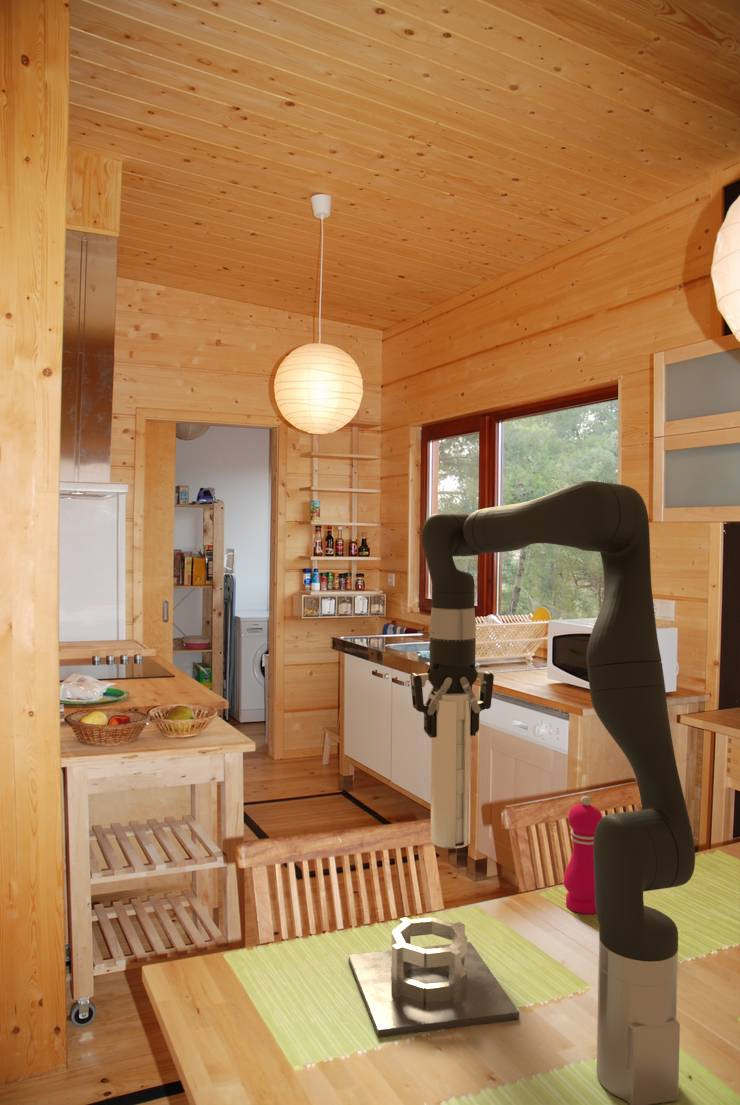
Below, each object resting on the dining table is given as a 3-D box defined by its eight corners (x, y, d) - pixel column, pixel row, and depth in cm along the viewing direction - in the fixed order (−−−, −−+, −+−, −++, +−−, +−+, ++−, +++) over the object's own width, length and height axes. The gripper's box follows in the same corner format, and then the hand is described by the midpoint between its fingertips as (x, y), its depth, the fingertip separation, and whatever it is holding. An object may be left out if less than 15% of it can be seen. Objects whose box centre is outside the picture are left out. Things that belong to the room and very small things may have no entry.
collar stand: (519, 1019, 117) (519, 962, 117) (378, 1037, 112) (378, 978, 112) (470, 948, 136) (470, 899, 136) (348, 961, 132) (349, 910, 132)
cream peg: (469, 835, 143) (471, 688, 142) (470, 849, 137) (471, 695, 136) (431, 833, 144) (432, 687, 143) (430, 847, 137) (431, 694, 136)
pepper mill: (555, 900, 154) (557, 791, 153) (590, 895, 156) (592, 788, 155) (576, 918, 147) (578, 804, 146) (612, 912, 149) (615, 800, 149)
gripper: (416, 638, 134) (415, 743, 134) (502, 636, 137) (501, 739, 137) (404, 632, 141) (403, 732, 142) (485, 631, 144) (484, 728, 145)
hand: (451, 735), depth 140 cm, fingers closed on cream peg, 6 cm apart
